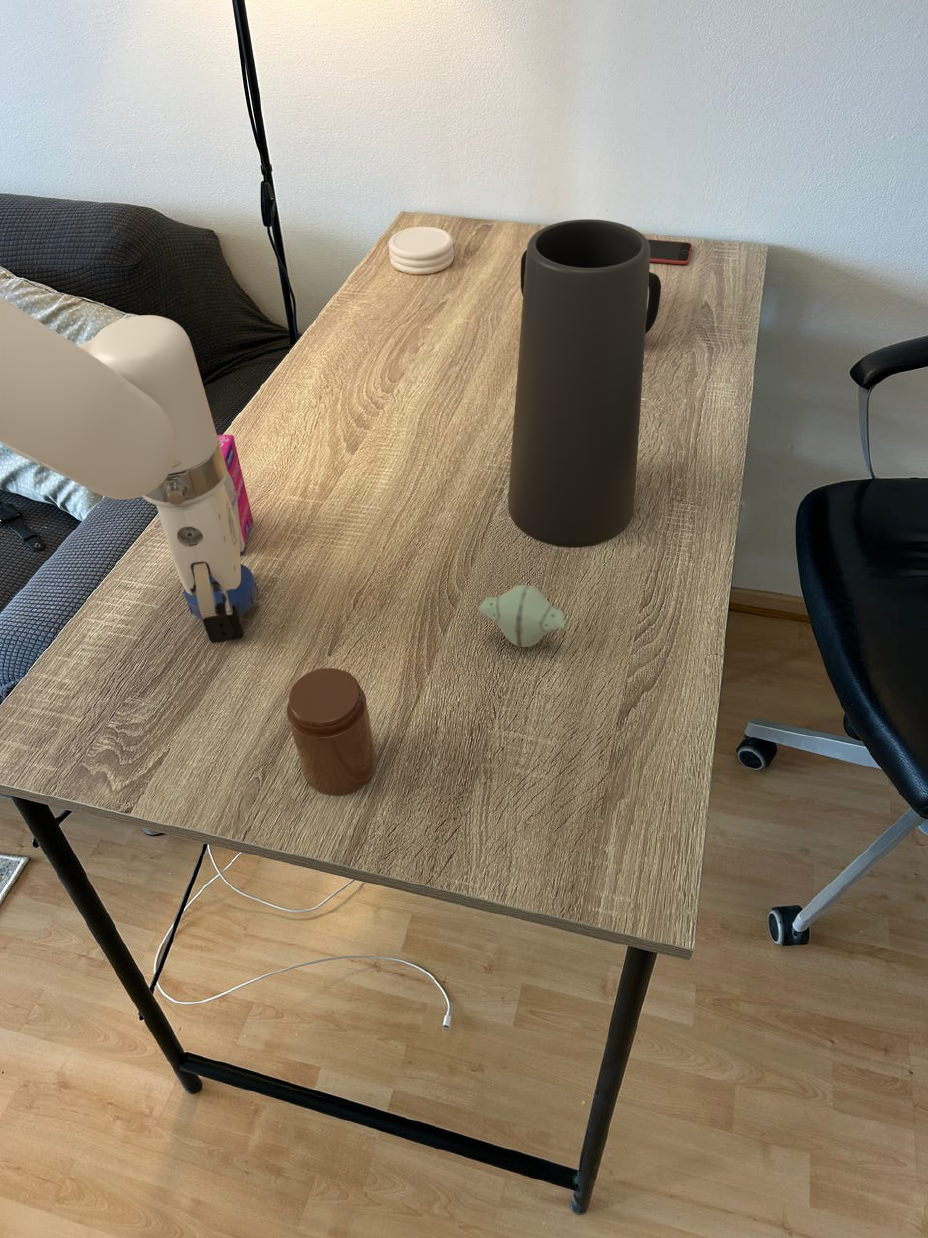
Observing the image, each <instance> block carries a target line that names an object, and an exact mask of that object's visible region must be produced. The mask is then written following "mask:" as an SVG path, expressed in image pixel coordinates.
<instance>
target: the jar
mask: <svg viewBox="0 0 928 1238" xmlns="http://www.w3.org/2000/svg"><path fill="white" fill-rule="evenodd" d="M286 716H287V721H288V724H289V727H290V730H291V734H292V738H293V741H294V745H295V748H296V751H297V754H298V755H297V756H298V758H299V762H300V766H301V768H302V772H303V776H304V778H305V780H306V782H307V784H308V785H309V786H310V787H311V788H312V789H313V790H315V791H317V792H318V793H322V794H324V795H327V796H344V795H349V794H352V793H354V792H356V791H358V790H360V789H362V788H363V787H364V786H365V785H367V783H369V782H370V781H371V779H372V778H373V775H374V774H375V772H376V769H377V765H378V764H377V763H378V757H377V751H376V747H375V740H374V735H373V729H372V723H371V719H370V714H369V707H368V703H367V697H366V694H365V691H364V690H363V688H362V687H361V685H360V684H359V682H358V680H357V678H355V676H353V675H352V673H351V672H348V671H346V670H344V669H339V668H333V667H324V668H323V667H322V668H318V669H314V670H312V671H309V672H307V673H305V674H303V675H302V676H300V678H298V679H297V680H296V681H295V683H294V684H293V685H292V687H291V689H290V692H289V694H288V702H287V706H286Z"/></svg>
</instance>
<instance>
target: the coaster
mask: <svg viewBox="0 0 928 1238" xmlns="http://www.w3.org/2000/svg"><path fill="white" fill-rule="evenodd" d="M388 248H389V251H388V254H389V261H390V265H391V266H392V267H393V268H394V269H396V270H397V271H399V272H401V273H405V274H408V275H418V276H419V275H421V276H422V275H430V274H435V273H439V272H441V271H443V270H445V269H447V268H448V267H450V265H452V263H453V262H454V258H455V253H454V250H455V248H454V238H453V236H452V235H451V234H450V232H448V231H447V230H444V229H442V228H439V227H434V226H414V227H408V228H405V229H402V230H400V231H397V232H396V233H395V234H393V235H392V236H391V237H390V239H389V241H388Z"/></svg>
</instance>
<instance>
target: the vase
mask: <svg viewBox="0 0 928 1238" xmlns="http://www.w3.org/2000/svg"><path fill="white" fill-rule="evenodd" d="M647 239H648V238H646V236H645V235H644V234H643V233H642V232H640V231H638V230H637V229H635V228H633V227H632V226H628V225H626V224H623V223H619V222H616V221H611V220H605V219H593V218H588V219H587V218H586V219H584V218H583V219H570V220H565V221H560V222H556V223H553V224H549V225H547V226H544V227H543V228H541V229H539V230H538V231H536V232H535V233H534V234H533V235H532V236H531V237H530V238H529V240H528V242H527V245H526V249H527V254H526V262H525V276H524V289H523V296H522V304H521V306H522V308H521V316H520V317H521V322H520V332H519V333H520V334H519V348H518V359H517V372H516V384H515V385H516V386H515V388H516V389H515V398H514V399H515V401H514V414H513V426H512V439H511V440H512V441H511V442H512V443H511V453H510V467H509V468H510V469H509V482H508V495H507V496H508V497H507V508H508V512H509V516H510V517H511V519H512V521H513V523H514V524H515V525H516V527H518V529H520V530H521V531H522V532H523V533H525V534H526V535H528V536H529V537H531V538H533V539H535V540H536V541H540V542H542V543H545V544H549V545H553V546H559V547H569V548H570V547H571V548H574V547H575V548H576V547H588V546H589V547H590V546H593V545H598V544H600V543H605V542H606V541H609V540H611V539H612V538H615V537H616V536H618V535H619V534H621V533H622V532H623V531H624V530H625V529H626V528H627V527H628V525H629V524H630V522H631V521H632V518H633V515H634V511H635V510H634V509H635V501H636V500H635V497H636V484H637V468H638V456H639V438H640V424H641V406H642V391H643V379H644V378H643V376H644V375H643V373H644V360H645V346H646V334H645V332H646V312H647V298H648V283H649V272H650V267H651V262H650V244H649V242H648V240H647Z"/></svg>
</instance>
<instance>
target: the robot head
mask: <svg viewBox="0 0 928 1238" xmlns="http://www.w3.org/2000/svg"><path fill="white" fill-rule="evenodd" d="M477 611H478V612H480V614H482V615H484V616H485V617H486V618H488V619H490V620H491V621H493V622H494V623H495V624H496V625H497V626H498V627H499V628H500V630H501V631H502V633H503V635H504V637H505V639H506V640H507V641H509V643H511V644H512V645H515V646H518V647H520V648H532V647H533V646H535V645H536V644H538V643H539V642H540V641H541V640H542V638H543V637H544V636H545V635H547V634H548V633H550V632H553V631H555V630H559V629H562V628H565V621H564V620H565V619H564V612H563V610H560V609H559V608H555V607H554V606H553V605H552V604H551V603H550V601H549V600H548V599H547V598H546V596H544V595H543V594H542V592H541V591H540V590H539V588H537V587H535V586H532V585H529V584H519V585H517V586H515V587H513V588H511V589H509V590H508V591H506V592H504V593H502V594H501V595H499V596H486V597H485V599H483V602H481V604H480V606H479V607H478V608H477Z"/></svg>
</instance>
